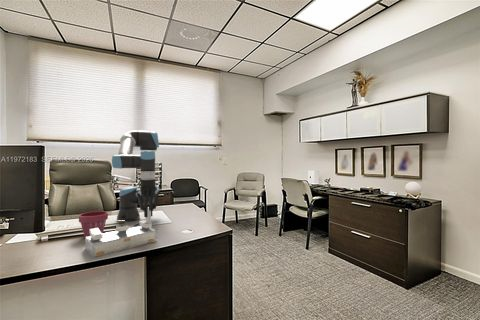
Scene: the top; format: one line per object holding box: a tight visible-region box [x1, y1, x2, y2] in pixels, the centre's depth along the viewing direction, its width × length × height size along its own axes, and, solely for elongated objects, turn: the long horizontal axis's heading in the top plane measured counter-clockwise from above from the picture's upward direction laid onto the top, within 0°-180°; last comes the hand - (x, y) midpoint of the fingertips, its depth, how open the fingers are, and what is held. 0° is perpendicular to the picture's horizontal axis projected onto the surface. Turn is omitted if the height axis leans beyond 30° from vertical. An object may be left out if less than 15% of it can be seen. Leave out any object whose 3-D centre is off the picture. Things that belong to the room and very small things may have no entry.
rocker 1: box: [89, 228, 102, 240], centre depth 113 cm, size 8×4×2 cm, turn 44°
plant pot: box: [78, 210, 109, 238], centre depth 136 cm, size 14×14×13 cm
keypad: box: [129, 222, 154, 228], centre depth 147 cm, size 10×4×15 cm
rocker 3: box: [139, 219, 153, 228], centre depth 130 cm, size 8×4×2 cm, turn 44°
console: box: [84, 226, 157, 258], centre depth 121 cm, size 14×30×7 cm, turn 134°
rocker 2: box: [115, 224, 130, 232], centre depth 121 cm, size 8×4×2 cm, turn 44°
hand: (148, 222), depth 126 cm, fingers closed
